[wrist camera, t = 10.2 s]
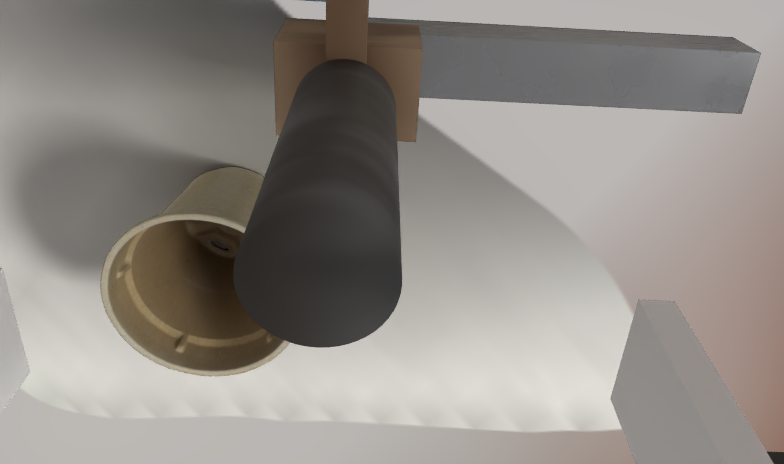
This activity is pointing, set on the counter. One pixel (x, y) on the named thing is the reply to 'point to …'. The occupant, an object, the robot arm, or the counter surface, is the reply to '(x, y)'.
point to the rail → (583, 66)
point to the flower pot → (189, 281)
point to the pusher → (332, 179)
